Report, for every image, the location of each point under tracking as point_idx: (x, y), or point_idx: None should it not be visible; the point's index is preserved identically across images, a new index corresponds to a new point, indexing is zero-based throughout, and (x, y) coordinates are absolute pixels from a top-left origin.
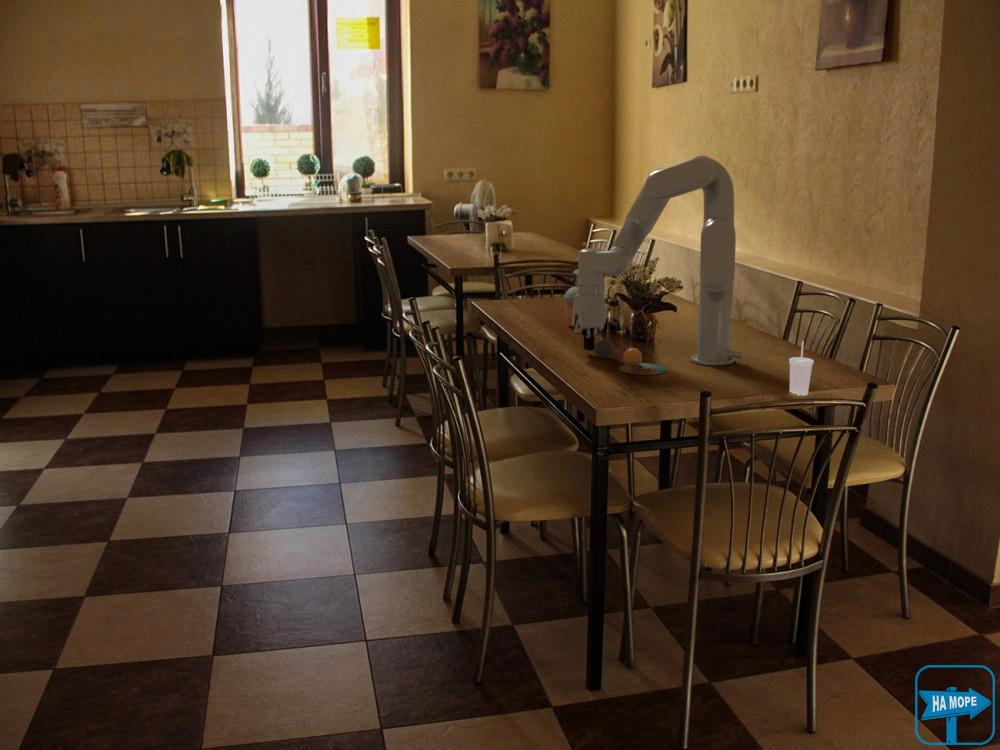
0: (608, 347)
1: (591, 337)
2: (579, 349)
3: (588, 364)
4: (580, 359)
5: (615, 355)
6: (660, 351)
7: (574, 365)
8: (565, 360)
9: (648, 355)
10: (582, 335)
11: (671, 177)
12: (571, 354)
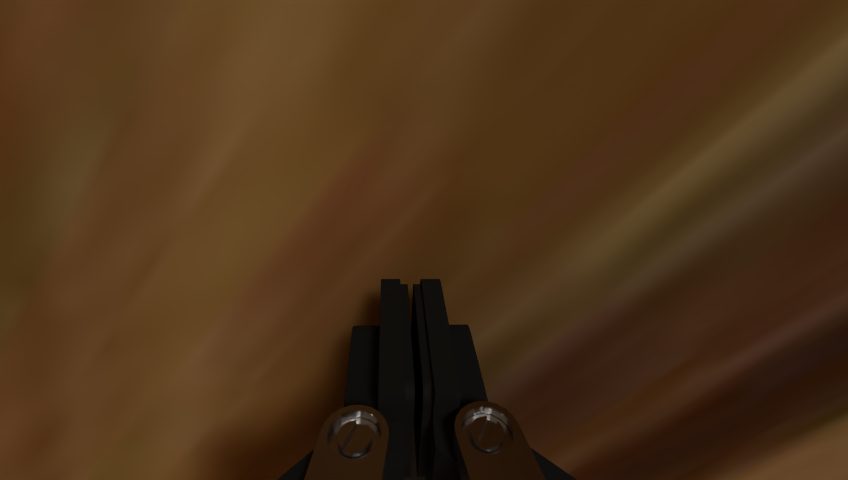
0: None
1: (427, 465)
2: (501, 46)
3: (211, 472)
4: (233, 365)
5: (556, 394)
6: (844, 439)
7: (93, 456)
8: (79, 334)
9: (698, 468)
10: (308, 454)
11: None
12: (258, 191)
